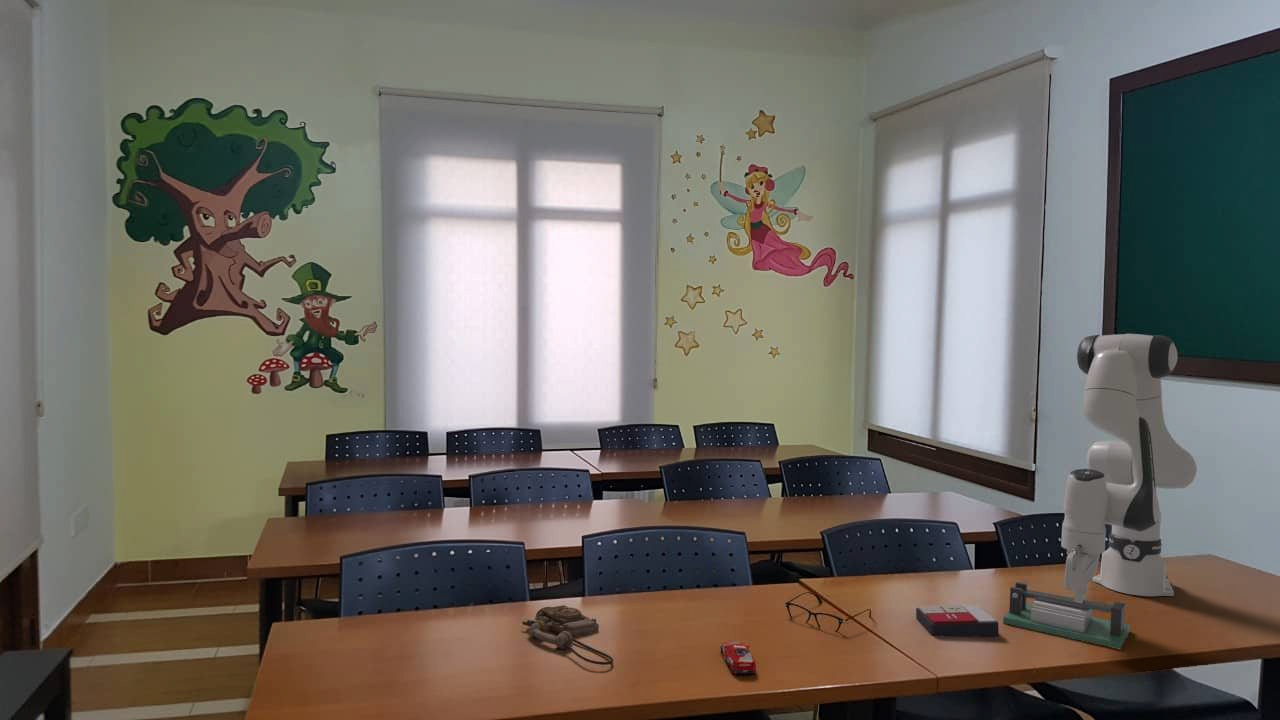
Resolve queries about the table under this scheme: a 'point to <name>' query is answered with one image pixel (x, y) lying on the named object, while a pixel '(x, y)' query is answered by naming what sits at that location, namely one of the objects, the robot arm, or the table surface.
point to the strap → (1066, 600)
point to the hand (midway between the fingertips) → (1079, 601)
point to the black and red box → (957, 621)
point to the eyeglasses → (819, 613)
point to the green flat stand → (1066, 619)
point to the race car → (738, 657)
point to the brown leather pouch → (564, 628)
